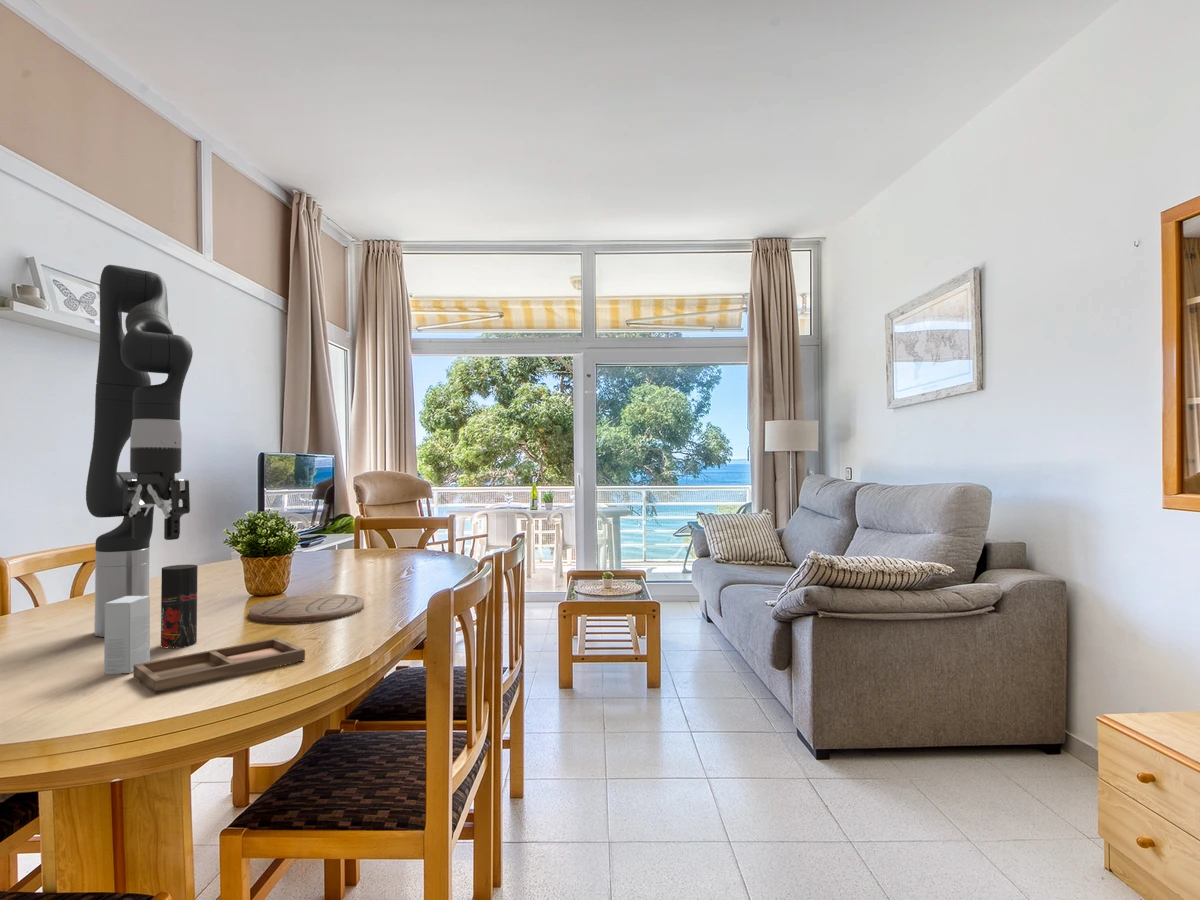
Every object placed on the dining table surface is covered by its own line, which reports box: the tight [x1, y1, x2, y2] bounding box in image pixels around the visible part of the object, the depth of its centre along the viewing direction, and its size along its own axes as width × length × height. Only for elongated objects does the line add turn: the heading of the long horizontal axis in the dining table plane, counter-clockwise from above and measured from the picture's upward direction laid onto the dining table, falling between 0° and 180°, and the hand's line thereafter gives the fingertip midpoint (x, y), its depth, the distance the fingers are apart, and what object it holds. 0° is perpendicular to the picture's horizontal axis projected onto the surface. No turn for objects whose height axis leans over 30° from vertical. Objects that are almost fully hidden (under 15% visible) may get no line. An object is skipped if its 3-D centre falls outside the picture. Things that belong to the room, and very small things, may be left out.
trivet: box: [248, 593, 365, 624], centre depth 160 cm, size 25×25×2 cm
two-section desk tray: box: [133, 637, 306, 695], centre depth 116 cm, size 12×23×2 cm, turn 138°
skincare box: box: [103, 595, 151, 675], centre depth 116 cm, size 6×4×12 cm
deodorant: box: [160, 564, 199, 649], centre depth 131 cm, size 6×6×15 cm
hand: (155, 538), depth 118 cm, fingers open, 8 cm apart
